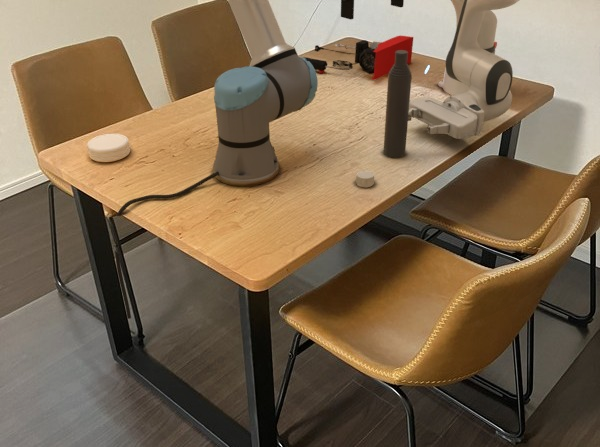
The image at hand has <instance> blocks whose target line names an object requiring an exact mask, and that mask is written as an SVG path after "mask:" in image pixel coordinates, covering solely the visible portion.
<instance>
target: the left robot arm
mask: <svg viewBox="0 0 600 447" xmlns="http://www.w3.org/2000/svg"><path fill="white" fill-rule="evenodd" d="M227 2H228V4H229V7H230V9H231V12H232V14H233V16H234V19H235V21H236V23H237V25H238V29H239V30H240V32H241V35H242V37H243V40H244V42H245V45H246V47H247V49H248V52H249V54H250V57H251V60H250V63H249V65H247V66H242V67H235V68H232V69H228V70H226V71H225V72H223V73H221V74H220V75H219V76H218V77H217V78H216V80H215V82H214V86H213V87H214V88H213V89H214V94H213V95H214V96H213V101H214V106H215V115H216V126H217V135H218V145H217V149H216V153H215V159H214V162H213V165H212V168H213V173H212V174H210V175H208V176H206V177H204V178H202V179H201V180H199V181H196V183H194V184H192V185H190V186H188V187H186V188H185V189H182V190H181V191H178V192H175V193H170V194H149V195H144V196H140V197H137V198H132V199H130V200H128V201H126V202H125V203H124V204H123V205H122V206H121V207H120V209H119V210H118V212H117V213H116V217H120V216H122V214H123V213H124V211H125V210H126V209H127V208H128V207H130V206H131V205H133V204H135V203H139V202H142V201H147V200H154V199H155V200H156V199H159V200H160V199H161V200H162V199H164V200H165V199H166V200H167V199H174V198H177V197H180V196H182V195H185V194H187V193H188V192H190V191H192V190H194V189H196V188H198V187H199V186H202V185H203V184H205V183H207V182H208V181H210V180H211V179H214V178H215V179H217V181H219V182H220V183H223V184H225V185H228V186H229V185H230V186H234V187H251V186H252V187H253V186H257V185H261V184H265V183H267V182H269V181H271V180H273V179H274V178H275V177H276V176H277V175H278V174H279V171H280V166H279V164H280V163H279V160H278V156H277V154H276V150H275V147H274V146H273V144H272V142H271V138H270V136H271V135H270V134H271V133H270V123H271V122H273V121H276V120H278V119H280V118H283V117H286V116H288V115H290V114H292V113H296V112H298V111H301V110H302V109H303V108H305V107H306V106H308V105H310V104H311V103H312V102H313V100H314V99H315V98H316V93H317V91H318V87H319V85H318V84H319V83H318V75H317V72H316V71H317V70H315V69H314V67H313V65H312V64H311V63H310V62H309V61H307V59H305V58H303V56H299V55H298V52H297V50H296V47H295V46H293V45H291V44H288V43H287V42H286V40H285V38H284V35H283V33H282V31H281V28H280V26H279V23H278V21H277V18H276V16H275V14H274V11H273V8H272V6H271V3H270V1H269V0H227ZM404 2H405V0H390V6H392V7H396V8H403V7H404V5H405V4H404ZM354 16H355V0H340V18H343V19H347V20H351V21H352V20H354V19H355V18H354ZM114 256H115V263H116V265H115V266H116V270H117V275H118V280H119V285H120V289H121V293H122V296H123V301H124V306H125V312H126V317H127V319H128V320H130V319H132V314H131V308H130V304H129V299H128V295H127V289H126V285H125V281H124V277H123V272H122V267H121V258H120V254H119V253H118V251H116V250H115V251H114Z"/></svg>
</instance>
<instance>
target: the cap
mask: <svg viewBox="0 0 600 447" xmlns="http://www.w3.org/2000/svg"><path fill="white" fill-rule="evenodd" d="M355 184H356V185H357V186H358V187H360V188H370V187H372V186H374V184H375V173H374V172H373V171H370V170H367V169H365V170H359V171H358V172H357V173H356V176H355Z"/></svg>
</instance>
